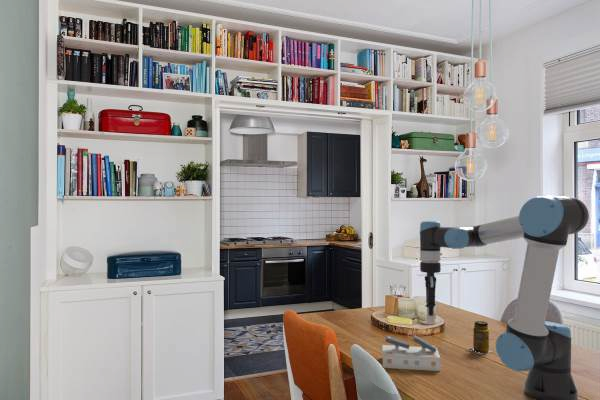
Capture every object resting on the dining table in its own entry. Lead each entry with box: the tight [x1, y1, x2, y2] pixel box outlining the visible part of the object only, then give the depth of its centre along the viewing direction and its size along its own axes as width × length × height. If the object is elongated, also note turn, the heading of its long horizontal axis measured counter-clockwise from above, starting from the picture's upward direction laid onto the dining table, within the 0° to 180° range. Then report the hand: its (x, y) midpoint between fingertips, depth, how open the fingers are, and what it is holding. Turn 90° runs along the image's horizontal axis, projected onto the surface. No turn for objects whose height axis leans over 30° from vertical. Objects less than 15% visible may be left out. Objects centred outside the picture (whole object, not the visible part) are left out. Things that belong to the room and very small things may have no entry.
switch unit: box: [382, 344, 441, 372], centre depth 183 cm, size 12×21×7 cm, turn 80°
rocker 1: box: [384, 335, 410, 349], centre depth 184 cm, size 4×9×2 cm, turn 80°
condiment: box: [466, 320, 494, 356], centre depth 199 cm, size 7×8×12 cm
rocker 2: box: [411, 334, 437, 353], centre depth 182 cm, size 4×9×2 cm, turn 80°
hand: (430, 323), depth 181 cm, fingers closed
